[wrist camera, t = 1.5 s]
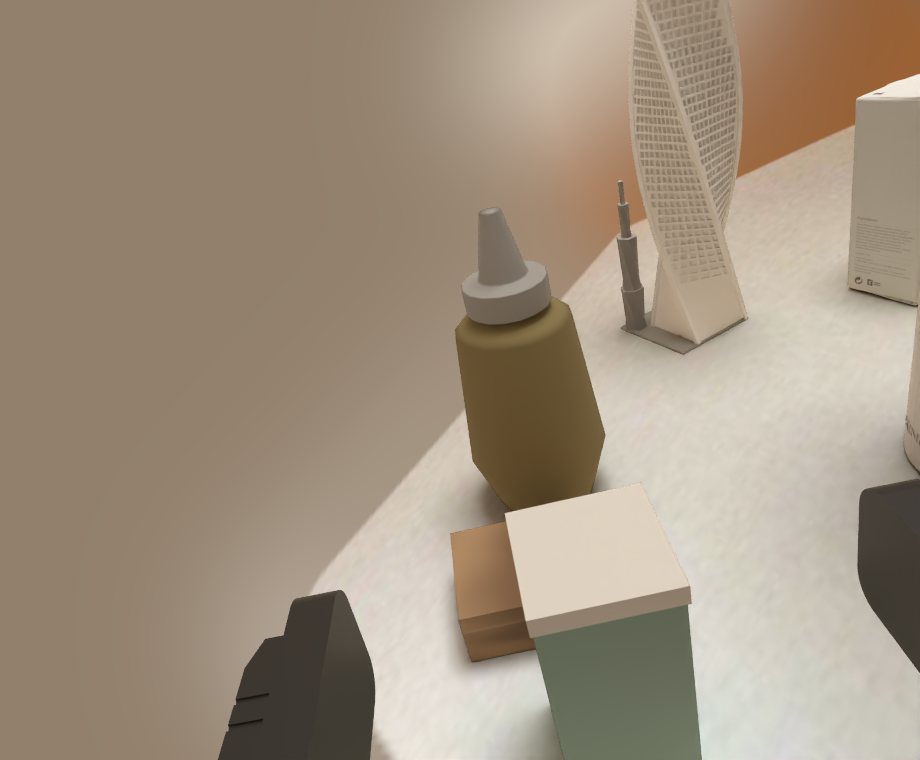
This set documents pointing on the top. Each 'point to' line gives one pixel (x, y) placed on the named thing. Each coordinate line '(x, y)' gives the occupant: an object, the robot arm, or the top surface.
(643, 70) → the skyscraper
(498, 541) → the brown wooden bridge block
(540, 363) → the squeeze bottle
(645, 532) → the tin
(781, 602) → the top surface
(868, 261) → the skincare box
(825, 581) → the top surface
